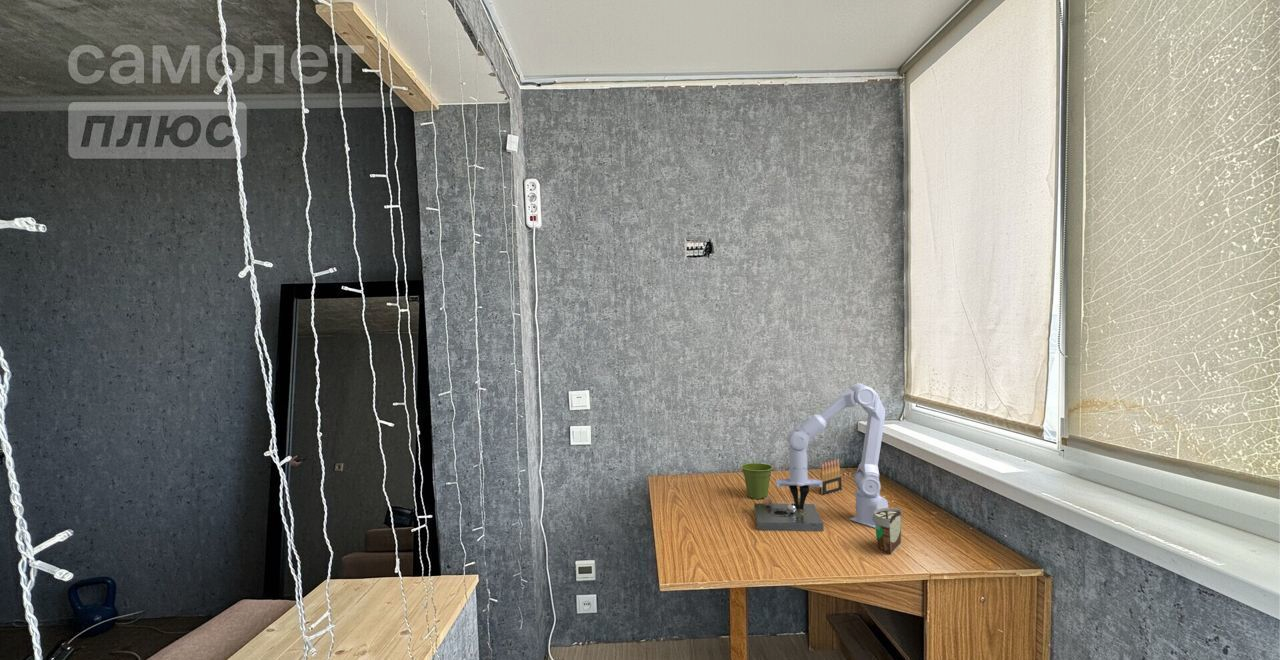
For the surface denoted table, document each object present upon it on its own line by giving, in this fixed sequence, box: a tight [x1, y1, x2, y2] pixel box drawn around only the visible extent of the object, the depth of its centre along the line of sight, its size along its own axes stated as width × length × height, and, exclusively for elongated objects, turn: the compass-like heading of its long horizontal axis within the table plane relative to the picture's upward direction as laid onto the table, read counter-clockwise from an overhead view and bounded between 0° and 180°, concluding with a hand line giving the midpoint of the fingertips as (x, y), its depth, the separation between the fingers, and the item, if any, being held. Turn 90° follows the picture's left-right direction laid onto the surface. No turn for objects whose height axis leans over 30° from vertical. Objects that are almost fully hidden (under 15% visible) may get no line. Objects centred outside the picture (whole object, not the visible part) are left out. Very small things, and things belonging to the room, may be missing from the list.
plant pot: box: [740, 462, 774, 500], centre depth 220 cm, size 12×12×11 cm
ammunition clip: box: [819, 458, 843, 496], centre depth 223 cm, size 11×2×12 cm, turn 124°
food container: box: [872, 507, 903, 556], centre depth 170 cm, size 12×6×10 cm, turn 141°
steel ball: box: [787, 502, 797, 513], centre depth 194 cm, size 3×3×3 cm
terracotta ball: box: [762, 496, 773, 506], centre depth 202 cm, size 3×3×3 cm
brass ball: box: [793, 494, 806, 506], centre depth 200 cm, size 4×4×4 cm
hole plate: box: [753, 502, 825, 532], centre depth 194 cm, size 20×19×2 cm
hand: (799, 508), depth 193 cm, fingers closed
